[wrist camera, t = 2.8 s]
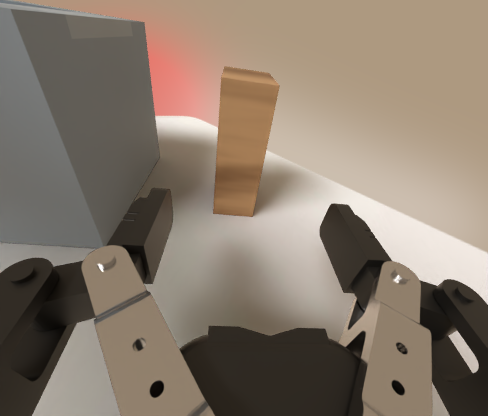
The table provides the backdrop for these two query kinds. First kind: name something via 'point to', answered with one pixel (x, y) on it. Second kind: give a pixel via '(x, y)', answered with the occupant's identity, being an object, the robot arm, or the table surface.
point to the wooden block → (242, 138)
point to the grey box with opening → (71, 124)
